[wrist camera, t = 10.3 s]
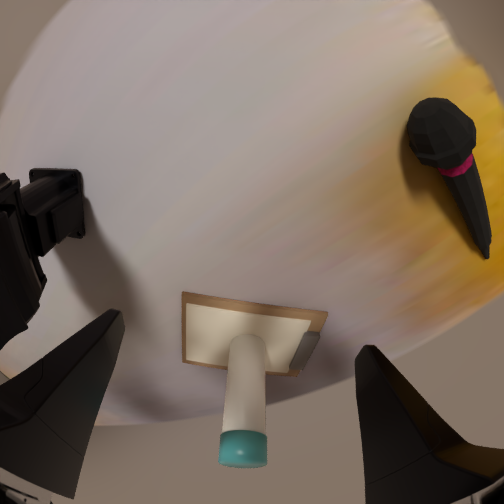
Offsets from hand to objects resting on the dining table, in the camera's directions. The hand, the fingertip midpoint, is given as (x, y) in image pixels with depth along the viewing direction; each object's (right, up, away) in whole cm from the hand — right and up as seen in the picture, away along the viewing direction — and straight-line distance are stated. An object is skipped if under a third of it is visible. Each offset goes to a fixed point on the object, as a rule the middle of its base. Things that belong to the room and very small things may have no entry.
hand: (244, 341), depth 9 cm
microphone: (+18, +8, +10) cm, 23 cm away
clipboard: (0, -6, +19) cm, 20 cm away
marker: (0, -7, +18) cm, 20 cm away
